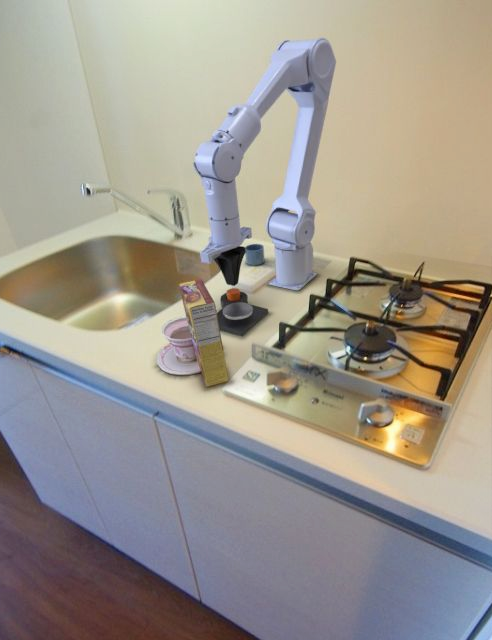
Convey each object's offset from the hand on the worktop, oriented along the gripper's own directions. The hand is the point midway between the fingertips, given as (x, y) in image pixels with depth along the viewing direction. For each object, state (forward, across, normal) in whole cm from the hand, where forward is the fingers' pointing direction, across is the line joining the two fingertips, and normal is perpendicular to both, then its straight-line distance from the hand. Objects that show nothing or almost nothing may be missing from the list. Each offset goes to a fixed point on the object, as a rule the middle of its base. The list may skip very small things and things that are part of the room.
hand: (232, 283), depth 88 cm
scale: (+6, +4, +3) cm, 8 cm away
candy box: (+6, +20, +9) cm, 23 cm away
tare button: (+3, 0, 0) cm, 3 cm away
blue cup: (+6, -23, -10) cm, 26 cm away
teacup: (+6, +19, +2) cm, 20 cm away
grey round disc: (+3, +5, +4) cm, 7 cm away
